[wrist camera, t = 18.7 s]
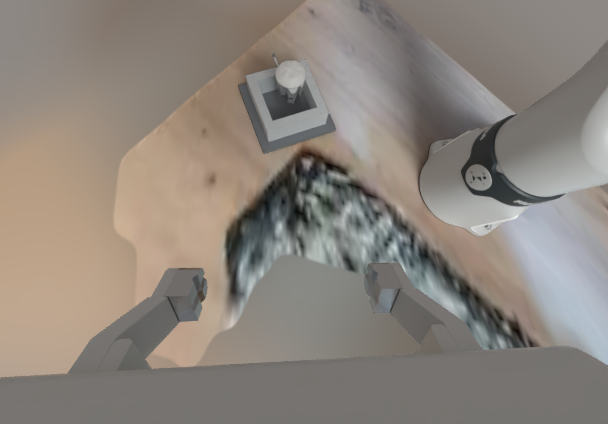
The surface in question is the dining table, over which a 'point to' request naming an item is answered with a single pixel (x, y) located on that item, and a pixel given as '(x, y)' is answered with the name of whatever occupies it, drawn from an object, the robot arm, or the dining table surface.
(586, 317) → the dining table surface
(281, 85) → the milkshake
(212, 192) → the dining table surface
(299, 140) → the sleeve housing
